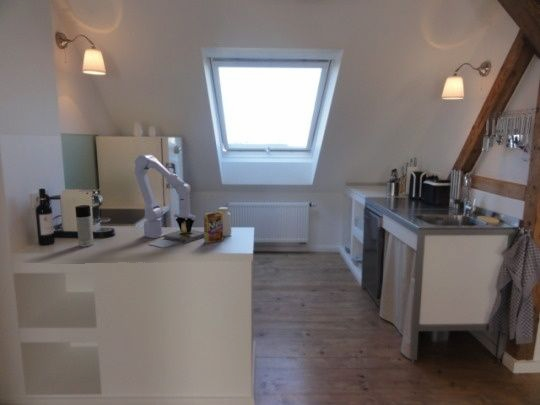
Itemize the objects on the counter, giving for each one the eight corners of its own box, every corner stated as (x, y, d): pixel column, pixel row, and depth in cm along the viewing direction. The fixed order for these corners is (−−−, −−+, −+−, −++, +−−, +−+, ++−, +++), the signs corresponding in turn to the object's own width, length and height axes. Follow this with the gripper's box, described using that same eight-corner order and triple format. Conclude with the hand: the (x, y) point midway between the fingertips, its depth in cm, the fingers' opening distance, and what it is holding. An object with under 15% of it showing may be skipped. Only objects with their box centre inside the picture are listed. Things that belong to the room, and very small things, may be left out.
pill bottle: (219, 237, 203) (218, 209, 200) (214, 233, 210) (213, 207, 207) (233, 235, 206) (232, 208, 204) (228, 232, 213) (227, 206, 211)
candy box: (207, 243, 191) (206, 214, 188) (204, 241, 194) (202, 212, 192) (223, 241, 196) (222, 212, 193) (219, 239, 199) (218, 210, 197)
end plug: (180, 237, 203) (179, 223, 201) (186, 235, 206) (185, 221, 205) (185, 238, 200) (185, 224, 199) (191, 237, 204) (191, 222, 202)
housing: (164, 238, 201) (163, 235, 201) (186, 232, 214) (185, 228, 214) (185, 243, 192) (185, 239, 192) (207, 236, 205) (207, 232, 205)
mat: (149, 245, 189) (149, 244, 189) (165, 240, 198) (165, 239, 198) (163, 248, 184) (163, 247, 184) (178, 243, 192) (178, 242, 192)
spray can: (96, 244, 192) (93, 205, 189) (86, 247, 186) (82, 207, 182) (86, 242, 194) (82, 204, 191) (75, 246, 188) (71, 206, 184)
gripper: (169, 206, 201) (170, 231, 203) (188, 209, 193) (190, 235, 195) (179, 204, 207) (180, 228, 209) (198, 206, 199) (199, 232, 201)
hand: (185, 231), depth 203 cm, fingers closed on end plug, 4 cm apart
